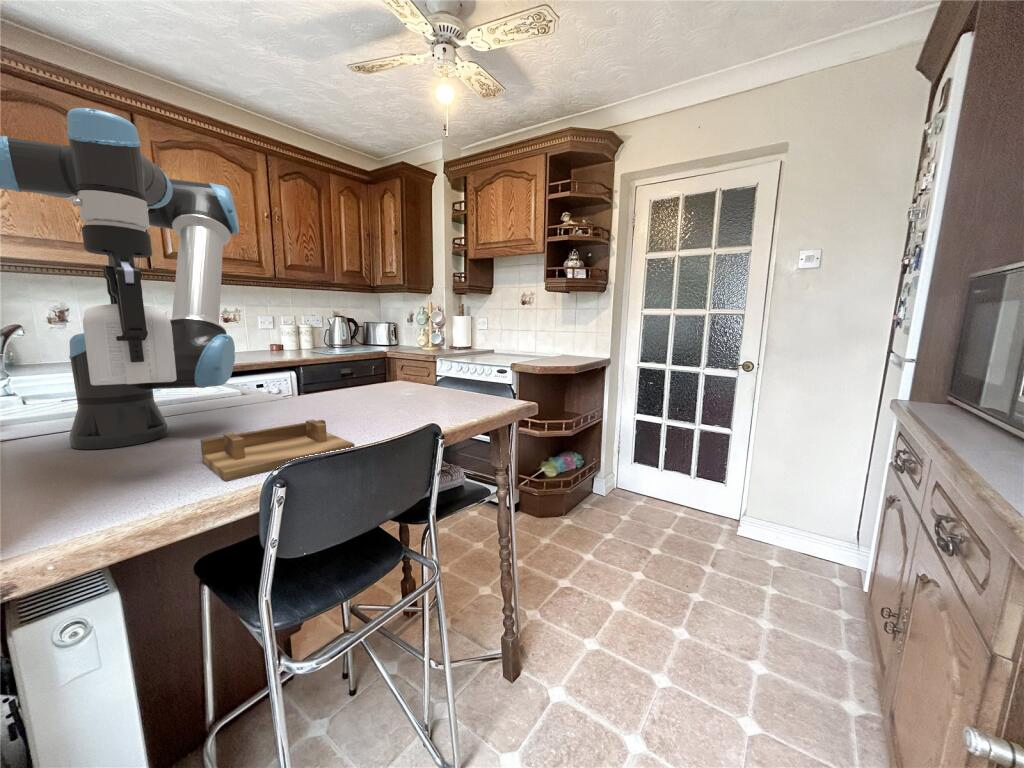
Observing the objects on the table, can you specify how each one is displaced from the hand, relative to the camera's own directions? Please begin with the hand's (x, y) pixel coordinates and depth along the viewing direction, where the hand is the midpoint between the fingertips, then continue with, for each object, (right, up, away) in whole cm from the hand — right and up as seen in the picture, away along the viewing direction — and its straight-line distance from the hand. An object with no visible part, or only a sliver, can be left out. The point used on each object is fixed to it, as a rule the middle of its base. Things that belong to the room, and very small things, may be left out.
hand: (136, 380), depth 66 cm
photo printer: (0, -1, 0) cm, 1 cm away
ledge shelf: (+16, -14, +13) cm, 25 cm away
